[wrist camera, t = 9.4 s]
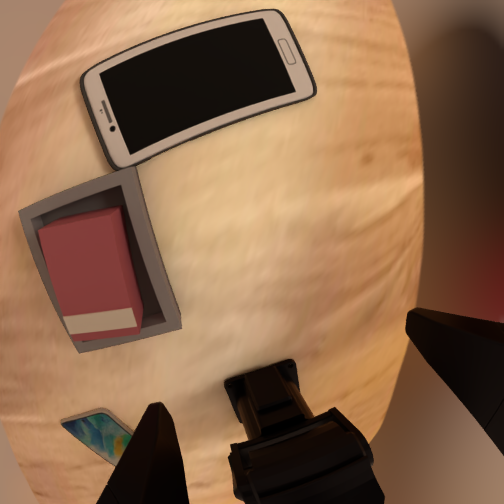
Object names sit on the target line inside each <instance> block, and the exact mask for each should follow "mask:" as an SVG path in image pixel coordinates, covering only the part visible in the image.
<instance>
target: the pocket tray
mask: <svg viewBox="0 0 504 504" xmlns="http://www.w3.org/2000/svg"><path fill="white" fill-rule="evenodd" d="M119 205H123V210H124V216H125V222H126V228H127V233H128V238H129V244H130V249H131V254H132V258H133V263H134V267H135V272H136V276H137V280H138V285H139V289H140V293H141V297H142V301H143V304H144V309H143V316H142V322H141V329H140V334H138V335H130V336H122V337H114V338H105V339H96V340H86V341H75V342H74V341H73V339H72V336H71V334H69V331H68V329H67V326H66V324H65V321H64V319H63V314H62V311H61V308H60V306H59V303H58V300H57V297H56V294H55V291H54V288H53V285H52V282H51V278H50V275H49V272H48V268H47V265H46V261H45V257H44V254H43V250H42V246H41V241H40V237H39V233H38V230H39V229H41V228H43V227H44V226H46V225H48V224H50V223H51V222H53V221H55V220H57V219H59V218H61V217H65V216H69V215H74V214H79V213H83V212H88V211H93V210H98V209H103V208H108V207H113V206H119ZM18 212H19V216H20V219H21V223H22V226H23V229H24V233H25V236H26V239H27V242H28V245H29V247H30V250H31V253H32V256H33V259H34V261H35V264H36V266H37V269H38V271H39V274H40V276H41V279H42V281H43V284H44V286H45V288H46V290H47V293H48V295H49V297H50V299H51V301H52V304H53V306H54V308H55V310H56V312H57V314H58V316H59V318H60V320H61V322H62V324H63V326H64V328H65V329H66V331H67V333H68V335H69V337H70V339H71V340H72V342H73V344H74V346H75V347H76V349H77V351H78V353H84V352H89V351H93V350H98V349H102V348H107V347H111V346H115V345H120V344H124V343H128V342H132V341H136V340H140V339H144V338H148V337H152V336H156V335H160V334H164V333H168V332H171V331H175V330H179V329H182V324H181V313H180V310H179V307H178V305H177V302H176V299H175V296H174V293H173V291H172V288H171V285H170V282H169V279H168V276H167V273H166V270H165V267H164V264H163V261H162V258H161V255H160V251H159V248H158V245H157V242H156V238H155V235H154V232H153V228H152V225H151V221H150V218H149V214H148V211H147V207H146V203H145V200H144V196H143V192H142V188H141V184H140V180H139V176H138V172H137V168H136V166H134V167H129V168H126V169H122V170H119V171H116V172H113V173H110V174H107V175H105V176H102V177H99V178H96V179H93V180H91V181H88V182H85V183H83V184H80V185H77V186H75V187H72V188H70V189H67V190H65V191H62V192H60V193H57V194H55V195H52V196H50V197H48V198H45V199H43V200H41V201H39V202H36V203H34V204H32V205H30V206H28V207H25V208H23V209H21V210H19V211H18Z"/></svg>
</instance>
